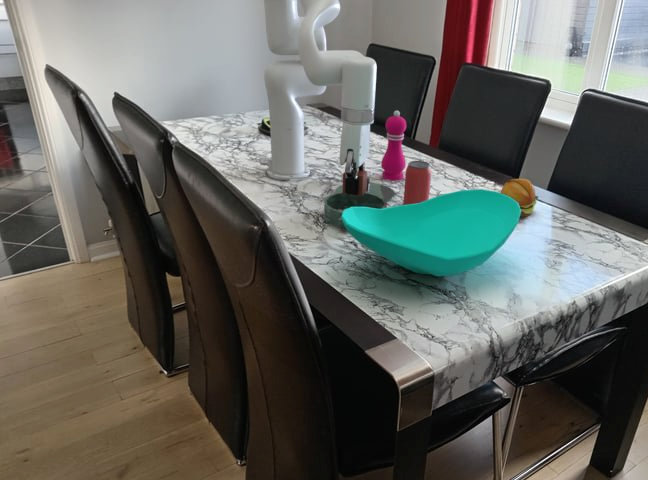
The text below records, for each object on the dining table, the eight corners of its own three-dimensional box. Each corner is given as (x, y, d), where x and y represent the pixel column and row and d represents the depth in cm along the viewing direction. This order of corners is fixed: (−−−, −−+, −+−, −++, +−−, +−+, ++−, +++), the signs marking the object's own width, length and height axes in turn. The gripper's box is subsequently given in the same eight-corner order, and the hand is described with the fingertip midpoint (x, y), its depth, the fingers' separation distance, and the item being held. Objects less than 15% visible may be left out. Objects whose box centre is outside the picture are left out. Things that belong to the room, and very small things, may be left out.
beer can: (410, 214, 149) (414, 169, 143) (398, 205, 154) (401, 161, 148) (432, 210, 152) (436, 166, 146) (419, 202, 157) (423, 159, 151)
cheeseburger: (536, 206, 158) (543, 175, 151) (530, 229, 151) (537, 197, 144) (500, 200, 160) (504, 169, 154) (492, 222, 153) (497, 190, 146)
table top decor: (465, 228, 143) (472, 176, 136) (542, 277, 122) (554, 219, 115) (317, 256, 125) (316, 198, 118) (377, 318, 104) (381, 252, 98)
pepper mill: (402, 183, 169) (407, 114, 159) (378, 181, 170) (381, 112, 160) (406, 176, 175) (411, 109, 166) (383, 173, 176) (386, 106, 167)
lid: (327, 201, 153) (327, 183, 151) (345, 182, 167) (345, 165, 165) (386, 210, 150) (388, 191, 148) (400, 189, 164) (401, 172, 162)
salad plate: (292, 122, 225) (292, 110, 223) (321, 132, 214) (321, 120, 212) (250, 129, 213) (249, 116, 211) (278, 140, 202) (278, 127, 200)
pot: (311, 230, 137) (311, 212, 134) (337, 200, 154) (338, 184, 152) (374, 239, 134) (375, 222, 132) (393, 208, 152) (394, 192, 149)
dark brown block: (342, 193, 140) (342, 173, 137) (347, 187, 143) (347, 168, 141) (362, 196, 139) (363, 176, 136) (366, 190, 142) (367, 171, 140)
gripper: (352, 105, 139) (349, 177, 149) (330, 121, 125) (329, 200, 134) (382, 108, 138) (377, 181, 147) (363, 125, 124) (360, 205, 133)
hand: (354, 189), depth 141 cm, fingers closed on dark brown block, 4 cm apart
